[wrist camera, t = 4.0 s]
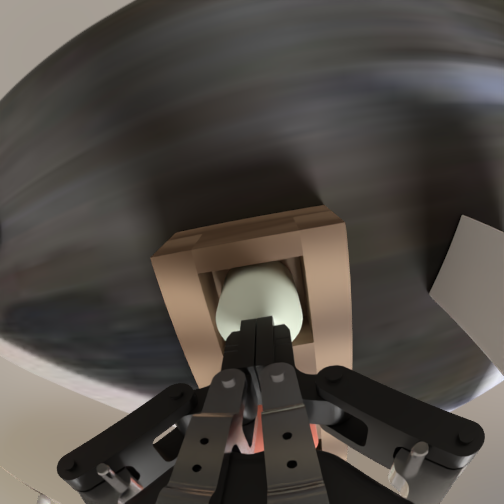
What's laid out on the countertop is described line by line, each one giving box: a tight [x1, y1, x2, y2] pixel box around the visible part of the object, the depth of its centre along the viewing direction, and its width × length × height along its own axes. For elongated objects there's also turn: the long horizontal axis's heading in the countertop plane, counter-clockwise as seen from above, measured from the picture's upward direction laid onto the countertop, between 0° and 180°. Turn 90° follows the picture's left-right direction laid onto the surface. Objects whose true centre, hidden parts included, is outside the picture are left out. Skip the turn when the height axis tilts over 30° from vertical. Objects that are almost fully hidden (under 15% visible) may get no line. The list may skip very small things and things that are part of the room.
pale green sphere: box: [216, 260, 303, 341], centre depth 16 cm, size 4×4×4 cm
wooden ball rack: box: [151, 205, 352, 461], centre depth 20 cm, size 24×10×5 cm, turn 11°
